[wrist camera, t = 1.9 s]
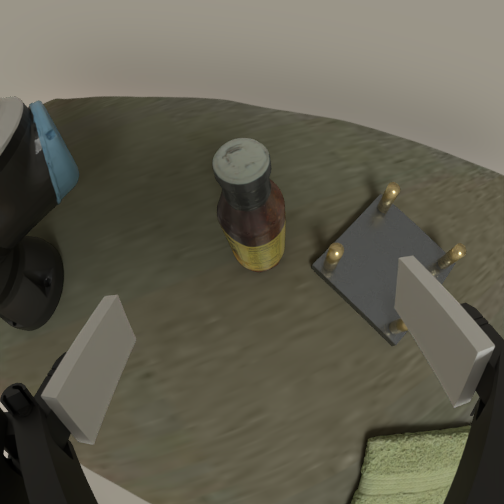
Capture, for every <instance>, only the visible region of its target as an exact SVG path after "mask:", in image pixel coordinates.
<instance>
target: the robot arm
mask: <svg viewBox="0 0 504 504" xmlns="http://www.w3.org/2000/svg"><path fill="white" fill-rule="evenodd" d="M78 178H79V170H78V168H77V165H76V163H75V161H74V159H73V157H72V156H71V154H70V152H69V150H68V148H67V146H66V144H65V143H64V141H63V139H62V137H61V135H60V133H59V132H58V130H57V128H56V126H55V124H54V122H53V121H52V119H51V117H50V115H49V113H48V112H47V110H46V108H45V107H44V105H43V104H42V102H41V101H36V102H34V103H31V104H30V105H29V107H28V108H27V107H26V106H25V104H24V103H23V102H22V100H20V99H19V98H18V97H8V98H0V317H1V318H2V319H3V320H4V321H6V322H7V323H8V324H9V325H11V326H13V327H15V328H18V329H22V330H26V331H31V330H35V329H38V328H39V327H41V326H42V325H44V324H45V323H46V322H47V321H48V320H49V318H50V317H51V316H52V314H53V313H54V311H55V309H56V307H57V304H58V302H59V299H60V296H61V292H62V286H63V266H62V261H61V258H60V256H59V253H58V252H57V250H56V249H55V248H54V247H53V246H52V245H51V244H49V243H48V242H46V241H45V240H43V239H41V238H38V237H30V236H25V235H26V234H27V233H28V232H29V231H30V230H31V229H32V228H33V227H34V226H35V225H36V224H37V223H38V222H39V221H40V220H41V219H42V218H43V217H45V216H46V215H47V214H48V213H49V212H50V211H51V210H52V209H53V208H54V207H55V206H56V205H57V204H58V205H59V204H60V202H61V200H62V198H63V197H64V196H65V195H66V194H67V193H68V192H69V191H70V190H71V189H72V188H74V187H75V185H76V184H77V182H78ZM394 308H395V310H396V311H397V313H398V314H399V316H400V317H401V319H402V320H403V322H404V324H405V325H406V327H407V328H408V330H409V332H410V333H411V335H412V336H413V338H414V340H415V341H416V343H417V344H418V346H419V348H420V349H421V351H422V353H423V354H424V356H425V358H426V359H427V361H428V363H429V364H430V366H431V368H432V370H433V371H434V373H435V375H436V376H437V378H438V380H439V382H440V383H441V385H442V387H443V389H444V391H445V392H446V394H447V396H448V398H449V400H450V402H451V403H452V405H453V407H454V408H455V407H457V406H460V405H462V404H465V403H467V402H469V401H471V399H472V397H473V395H474V393H475V391H476V392H477V393H478V395H479V397H480V398H479V400H478V401H477V403H476V405H475V407H474V409H473V411H472V413H471V414H470V416H473V414H474V417H473V421H472V424H471V428H470V432H469V435H468V438H467V442H466V445H465V448H464V451H463V454H462V457H461V460H460V463H459V466H458V469H457V471H456V474H455V477H454V479H453V482H452V484H451V487H450V489H449V491H448V494H447V496H446V498H445V501H444V503H443V504H504V340H503V339H502V337H501V336H500V335H499V334H498V333H497V332H496V330H495V329H494V328H493V327H492V326H491V325H490V324H488V321H487V320H486V319H485V318H483V316H482V315H481V314H480V312H479V311H478V310H477V309H476V308H474V307H472V306H471V305H469V304H467V303H463V304H459V303H458V302H457V301H456V299H455V298H454V297H453V296H452V295H451V294H450V293H449V292H448V291H447V290H446V289H445V288H444V287H443V286H442V284H441V283H440V282H439V281H438V280H437V279H436V278H435V277H434V276H433V275H432V274H431V273H430V272H429V271H428V270H427V269H426V268H425V267H424V266H423V265H422V264H421V263H420V262H419V261H418V260H417V259H416V258H415V257H414V256H406V257H400V258H399V260H398V274H397V286H396V296H395V305H394ZM135 342H136V338H135V336H134V333H133V331H132V329H131V326H130V324H129V321H128V319H127V317H126V314H125V312H124V309H123V307H122V304H121V302H120V299H119V296H118V295H110V296H104V298H103V299H102V301H101V302H100V303H99V305H98V306H97V308H96V309H95V311H94V312H93V314H92V315H91V316H90V318H89V319H88V321H87V322H86V324H85V325H84V327H83V328H82V330H81V331H80V333H79V334H78V336H77V337H76V339H75V340H74V342H73V344H72V345H71V347H70V348H69V350H68V351H67V352H65V353H64V354H63V355H61V356H60V357H59V358H58V359H57V360H56V362H55V363H54V365H53V366H52V368H51V369H52V370H50V371H49V373H48V374H47V375H48V376H47V377H46V378H45V379H44V381H43V383H42V384H41V386H40V388H39V389H38V391H37V393H36V394H35V396H34V397H33V396H32V395H31V393H30V392H29V391H28V389H27V388H26V387H25V385H23V384H22V383H15V384H12V385H11V386H9V387H8V388H7V389H6V390H5V391H4V392H3V393H2V395H1V399H0V402H1V403H2V404H3V405H4V407H5V408H6V409H7V410H8V412H3V411H2V409H1V408H0V504H98V503H97V501H96V499H95V497H94V494H93V492H92V490H91V488H90V486H89V484H88V482H87V479H86V477H85V475H84V473H83V470H82V468H81V465H80V463H79V461H78V458H77V456H76V453H75V450H74V448H73V445H72V443H71V442H70V441H69V440H68V439H69V436H70V434H72V435H73V436H74V437H75V438H76V440H77V441H78V442H82V443H88V444H93V445H94V442H95V440H96V437H97V434H98V432H99V429H100V426H101V424H102V421H103V418H104V416H105V413H106V411H107V408H108V406H109V403H110V401H111V398H112V396H113V393H114V391H115V388H116V386H117V383H118V381H119V379H120V376H121V374H122V372H123V369H124V367H125V364H126V362H127V360H128V357H129V355H130V353H131V351H132V348H133V346H134V344H135ZM474 412H475V413H474ZM4 450H5V451H6V452H7V453H8V459H7V458H6V457H5V456H4V454H3V453H4Z"/></svg>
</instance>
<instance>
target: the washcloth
mask: <svg viewBox="0 0 504 504" xmlns="http://www.w3.org/2000/svg"><path fill="white" fill-rule="evenodd" d="M470 428H471V426H468V425H467V426H462V427H458V428H449V429H444V430H443V429H442V430H440V431H439V430H433V431H426V432H415V433H404V434H395V435H388V436H382V435H381V436H376V437H374V438H372V437H371V438H369V439H368V442H367V443H366V444H367V447H366V453H365V457H364V462H363V465H362V468H361V469H362V470H361V473H362V476H361V480H360V483H359V487H358V489H357V490H356V491H355V493H354V496H353V498H354V499H353V500H352V502H351V504H443V503H444V501H445V498H446V496H447V494H448V491H449V489H450V487H451V484H452V482H453V479H454V477H455V474H456V471H457V469H458V466H459V463H460V460H461V457H462V454H463V451H464V448H465V445H466V442H467V438H468V435H469V432H470Z"/></svg>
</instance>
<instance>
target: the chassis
mask: <svg viewBox="0 0 504 504" xmlns="http://www.w3.org/2000/svg"><path fill="white" fill-rule="evenodd" d="M399 192H400V186H399V185H398V184H397V183H394V182H391V183H389V185H388V186H387V188H386V190H385V192H384V194H383V195H382V194H380V195H379V196H378V197H377V198H376V199H375V200H374V202H373V203H372V204H371V205H370V206H369V207H368V208H367V209H366V210H365V211H364V212H363V213H362V214H361V215H360V216H359V217H358V218H357V220H356V221H355V222H354V223H353V224H352V225H351V226H350V227H349V228H348V229H347V230H346V231H345V232H344V233H343V234H342V235H341V236H340V237H339V238H338V239H337V240H336V241H335V242H334V243H333V244H331V245H330V247H329V248H328V249H327V250H326V251H325V252H324V253H323V254H322V255H321V256H320V257H319V258H318V259H317V260H316V261H315V262H314V263H313V264H312V268H311V269H313V270H314V271H315V272H316V273H317V274H318V275H319V276H320V277H321V278H322V279H323V280H324V281H325V282H326V283H327V284H328V285H329V286H330V287H332V288H333V289H334V290H335V291H336V292H337V293H338V294H339V295H340V296H341V297H342V298H343V299H344V300H345V301H346V302H347V303H348V304H349V305H350V306H351V307H352V308H353V309H354V310H356V311H357V312H358V313H359V314H360V315H361V316H362V317H363V318H364V319H365V320H366V321H367V322H368V323H369V324H370V325H371V326H372V327H373V328H374V329H375V330H376V331H377V332H378V333H379V334H380V335H381V336H382V337H383V338H384V339H385V340H386V341H387V342H388V343H389V344H390V345H391V346H394V345H396V344H397V343H398V342H399V341H400V340H401V338H402V337H403V336H404V335H405V333H406V332H407V331H408V328H407V327H406V325H405V324H404V322H403V320H402V319H401V317H400V316H399V314H398V313H397V311H396V310H395V308H394V305H395V296H396V286H397V274H398V260H399V258H400V257H406V256H414V257H415V258H416V259H417V260H418V261H419V262H420V263H421V264H422V265H423V266H424V267H425V268H426V269H427V270H428V271H429V272H430V273H431V274H432V275H433V276H434V277H435V278H436V279H437V280H438V281H439V282H440V283H441V284H442V283H443V282H444V280H445V279H446V277H447V276H448V274H449V272H450V271H451V269H452V268H453V266H454V265H455V262H456V261H457V260H459V259H460V258H462V257H463V256H464V255H465V254H466V248H465V246H464V245H463V244H461V243H459V244H457V245H456V246H455V247H453V248H452V249H451V250H450V251H448V252H447V253H445V252H444V251H443V250H442V249H441V248H440V247H439V246H438V245H437V244H436V243H435V242H434V241H433V240H432V239H431V238H430V237H429V236H428V235H427V234H426V233H424V232H423V231H422V230H421V229H420V228H419V227H418V226H417V225H416V224H415V223H414V222H413V221H411V220H410V219H409V218H408V217H407V216H406V215H405V214H404V213H403V212H401V211H400V210H399V209H398V208H397V207H396V206H395V205H393V202H394V200H395V199H396V197H397V195H398V194H399Z"/></svg>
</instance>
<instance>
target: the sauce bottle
mask: <svg viewBox="0 0 504 504" xmlns="http://www.w3.org/2000/svg"><path fill="white" fill-rule="evenodd" d="M212 166H213V171H214V174H215V178H216V180H217V182H218V183H219V184H220V186H221V187H222V193H221V196H220V200H219V203H218V206H217V217H218V220H219V223H220V225H221V228H222V229H223V231H224V234H225V236H226V238H227V240H228V242H229V244H230V246H231V249H232V251H233V253H234V255H235V257H236V259H237V260H238V262H239V263H240V264H241V265H243V266H244V267H246V268H248V269H249V270H252V271H255V272H262V271H266V270H269V269H271V268H273V267H275V266H276V265H277V264H278V263H279V261H280V259H281V257H282V255H283V253H284V248H285V204H284V198H283V195H282V193H281V191H280V189H279V188H278V186H277V185H276V184H275V183H274V182H273V181H272V180H270V179H269V176H270V174H271V161H270V155H269V152H268V150H267V148H266V147H265V146H264V145H263V144H261V143H260V142H258V141H256V140H254V139H250V138H238V139H233V140H230V141H228V142H227V143H225V144H224V145H223V146H221V147H220V148H219V149H218V151H217V152H216V153H215V155H214V158H213V161H212Z"/></svg>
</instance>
